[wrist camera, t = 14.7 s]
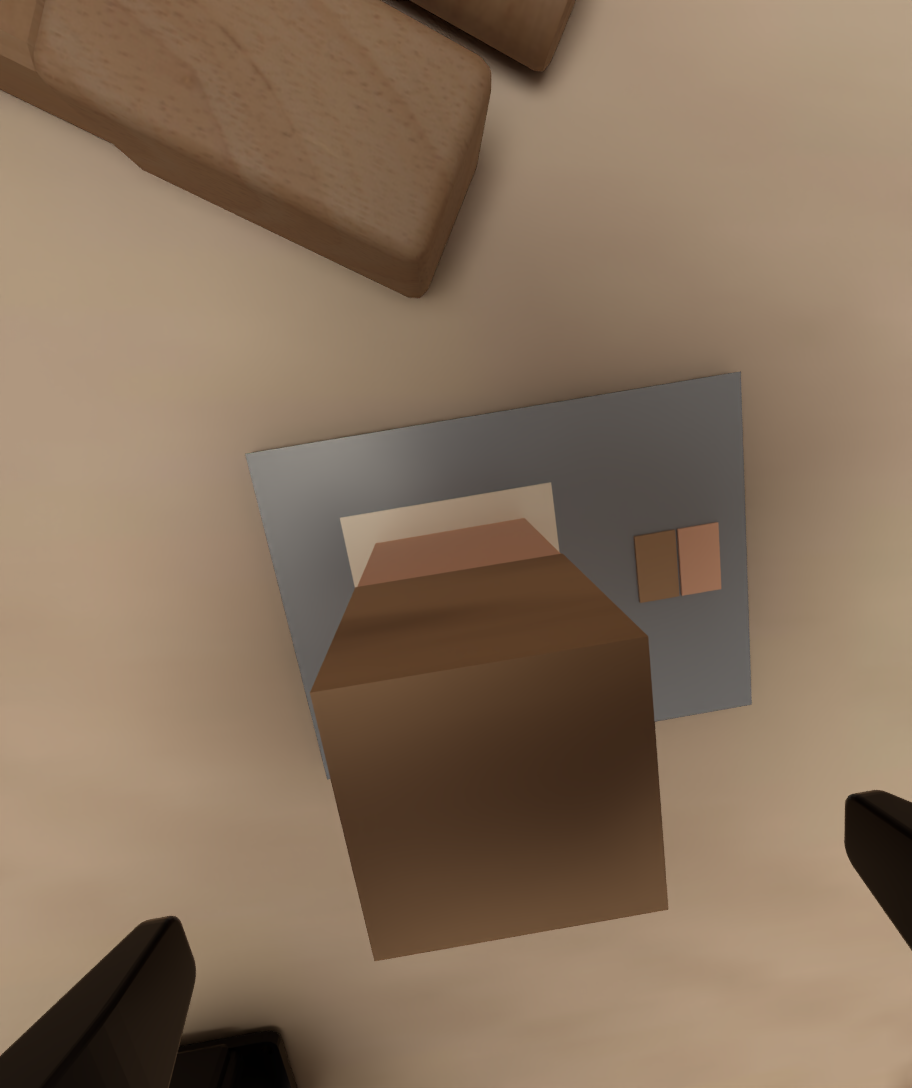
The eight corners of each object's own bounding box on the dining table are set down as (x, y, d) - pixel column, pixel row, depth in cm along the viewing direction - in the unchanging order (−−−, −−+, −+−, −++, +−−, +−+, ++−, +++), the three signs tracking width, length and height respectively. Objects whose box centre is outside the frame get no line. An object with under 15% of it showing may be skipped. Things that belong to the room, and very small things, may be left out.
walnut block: (582, 736, 14) (668, 909, 9) (393, 768, 14) (374, 961, 9) (562, 553, 13) (647, 636, 8) (355, 587, 12) (309, 692, 8)
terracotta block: (543, 655, 19) (583, 737, 14) (403, 679, 19) (395, 771, 14) (524, 517, 17) (562, 554, 13) (375, 543, 17) (355, 590, 12)
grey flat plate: (742, 696, 20) (753, 705, 20) (330, 769, 20) (326, 781, 19) (730, 373, 17) (742, 371, 17) (251, 452, 17) (244, 454, 16)
